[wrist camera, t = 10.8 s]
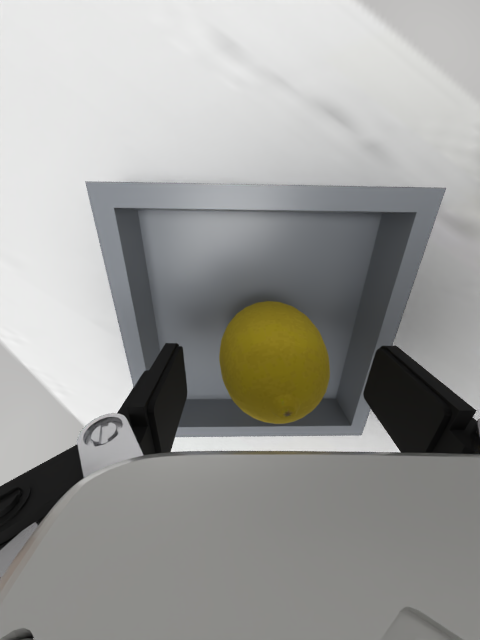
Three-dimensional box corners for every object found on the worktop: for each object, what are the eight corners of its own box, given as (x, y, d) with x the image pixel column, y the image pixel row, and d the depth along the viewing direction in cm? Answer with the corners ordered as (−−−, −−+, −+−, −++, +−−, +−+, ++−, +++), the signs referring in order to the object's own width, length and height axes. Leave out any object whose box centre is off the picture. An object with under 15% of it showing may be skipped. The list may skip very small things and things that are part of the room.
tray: (395, 195, 13) (445, 188, 10) (341, 400, 20) (361, 435, 17) (122, 190, 13) (85, 181, 10) (160, 401, 19) (145, 437, 16)
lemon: (239, 365, 17) (242, 474, 10) (210, 301, 15) (187, 380, 8) (309, 343, 16) (370, 442, 9) (290, 272, 14) (350, 329, 7)
